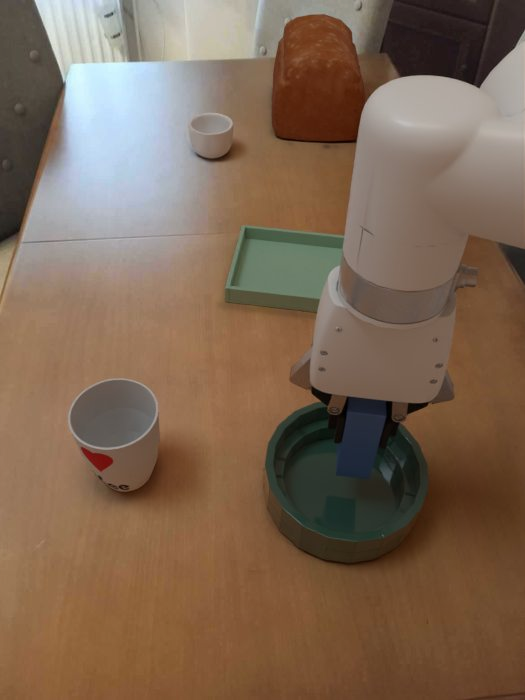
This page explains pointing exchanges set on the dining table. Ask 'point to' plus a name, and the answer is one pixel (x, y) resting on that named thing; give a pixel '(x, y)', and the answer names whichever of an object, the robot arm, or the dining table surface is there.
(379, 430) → the block
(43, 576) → the dining table surface
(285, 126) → the bread
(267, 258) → the tray
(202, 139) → the teacup
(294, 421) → the green bowl
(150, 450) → the cup
